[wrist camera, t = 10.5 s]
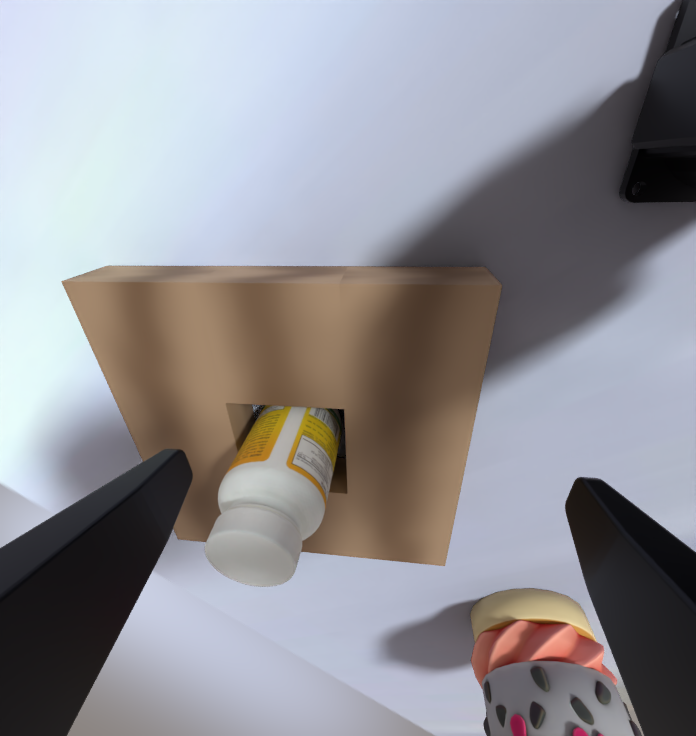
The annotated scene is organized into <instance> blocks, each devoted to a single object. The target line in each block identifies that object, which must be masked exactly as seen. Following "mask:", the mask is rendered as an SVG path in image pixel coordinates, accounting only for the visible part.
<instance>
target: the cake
mask: <svg viewBox="0 0 696 736" xmlns="http://www.w3.org/2000/svg"><path fill="white" fill-rule="evenodd" d="M470 617H471V623H472V628H473V634H474V640H475V645H474V649H473V653H472V658H471V663H472V666H473V670H474V673H475V676H476V678H477V680H478V682H479V684H480V686H481V688H482V689H483V694H484V700H485V706H486V716H487V717H486V718H485V720H484V730H485V733H486V735H487V736H642V735H641V732H640V730H639V729H638V727H637V726H636V724H635V723H634V722H633V721H632V719H631V717H630V714H629V712H628V709H627V706H626V704H625V703H624V702H622V699H621V697H620V695H619V692H618V690H617V688H616V686H615V685H616V684H617V679H616V678H615V676H614V675H613V674H612V673H611V672H610V671H609V670H608V669H607V668H606V667H605V666H604V665H603V664H602V659H603V655H604V648H603V646H602V645H601V644H599V643H597V641H596V638H595V636H594V634H593V631H592V629H591V627H590V624H589V622H588V620H587V617H586V615H585V613H584V611H583V609H582V608H581V606H580V605H579V603H577V602H576V601H574V600H572V599H571V598H569V597H568V596H565V595H562V594H559V593H556V592H553V591H549V590H541V589H534V588H527V589H510V590H505V591H500V592H496V593H493V594H491V595H489V596H486V597H484V598H482V599H481V600H480V601H478V602H477V603H476V604H475V605H474V606H473V608H472V610H471V613H470Z"/></svg>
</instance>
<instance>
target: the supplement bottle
mask: <svg viewBox="0 0 696 736" xmlns="http://www.w3.org/2000/svg"><path fill="white" fill-rule="evenodd" d="M341 433H342V420H341V417H340V414H339V412H338V410H337V409H332V408H312V407H293V406H273V405H265V406H264V408H263V409H262V411H261V413H260V414H259V416H258V418H257V420H256V422H255V424H254V425H253V427H252V429H251V431H250V432H249V434H248V436H247V438H246V440H245V441H244V443H243V445H242V446H241V448H240V450H239V452H238V454H237V455H236V457H235V459H234V461H233V462H232V464H231V466H230V467H229V469H228V471H227V473H226V475H225V476H224V478H223V480H222V482H221V484H220V487H219V491H218V504H219V508H220V511H221V515H220V516H219V517H218V518H217V519H216V522H215V524H214V527H213V529H212V531H211V533H210V535H209V537H208V539H207V541H206V544H205V554H206V557H207V559H208V560H209V562H210V563H211V565H212V566H213V567H214V568H215V569H216V570H217V571H219V572H220V573H221V574H223V575H224V576H226V577H228V578H230V579H232V580H235V581H237V582H240V583H243V584H246V585H251V586H259V587H270V586H276V585H280V584H283V583H285V582H287V581H288V580H289V579H290V578H291V577H292V576H293V575H294V573H295V570H296V567H297V563H298V559H299V556H300V552H301V550H302V541H303V540H305V539H307V538H308V537H310V536H311V535H312V534H313V533H314V532H315V531H316V530H317V529H318V527H319V526H320V524H321V522H322V519H323V516H324V513H325V508H326V503H327V499H328V494H329V489H330V484H331V480H332V475H333V471H334V466H335V462H336V457H337V452H338V447H339V442H340V438H341Z"/></svg>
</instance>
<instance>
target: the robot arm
mask: <svg viewBox="0 0 696 736" xmlns="http://www.w3.org/2000/svg"><path fill="white" fill-rule="evenodd" d="M632 144H633V147H634V148H633V151H632V154H631V157H630V160H629V163H628V166H627V169H626V172H625V175H624V178H623V181H622V184H621V187H620V192H619V195H620V198H621V199H622V200H623V201H627V202H633V203H644V202H696V0H683V1H682V4H681V7H680V10H679V13H678V16H677V19H676V22H675V25H674V28H673V31H672V34H671V37H670V40H669V43H668V46H667V49H666V52H665V54H664V55H663V56H662V57H661V58H660V59H659V60H658V62H657V65H656V68H655V71H654V74H653V77H652V80H651V84H650V87H649V90H648V93H647V96H646V99H645V102H644V105H643V108H642V111H641V114H640V117H639V120H638V123H637V126H636V129H635V132H634V135H633V138H632ZM638 182H639V183H640V189H639V191H638V192H637V193H636V194H634V195H633V194H632V188H633V187H634V185H635V184H637V183H638ZM192 479H193V472H192V469H191V466H190V464H189V461H188V459H187V456H186V454H185V452H184V451H183V450H181V449H172V448H167V449H164V450H162V451H160V452H159V453H157V454H155V455H154V456H152V457H150V458H149V459H147V460H145V461H144V462H142V463H140V464H139V465H137V466H136V467H134V468H132V469H131V470H129V471H127V472H126V473H124V474H122V475H121V476H119V477H117V478H116V479H114V480H112V481H111V482H109V483H107V484H106V485H104V486H102V487H101V488H99V489H97V490H96V491H94V492H92V493H91V494H89V495H87V496H86V497H84V498H83V499H81V500H79V501H78V502H76V503H74V504H73V505H71V506H69V507H68V508H66V509H64V510H63V511H61V512H59V513H58V514H56V515H54V516H53V517H51V518H50V519H48V520H46V521H45V522H43V523H41V524H40V525H38V526H36V527H34V528H33V529H31V530H29V531H28V532H26V533H25V534H23V535H22V536H20V537H18V538H16V539H15V540H13V541H11V542H10V543H8V544H6V545H5V546H3V547H1V548H0V736H67V734H68V732H69V730H70V728H71V727H72V725H73V723H74V721H75V719H76V717H77V715H78V713H79V711H80V709H81V707H82V705H83V704H84V702H85V700H86V698H87V696H88V694H89V692H90V690H91V688H92V686H93V684H94V682H95V680H96V679H97V677H98V675H99V673H100V671H101V669H102V667H103V665H104V663H105V661H106V659H107V657H108V655H109V653H110V651H111V650H112V648H113V646H114V644H115V642H116V640H117V638H118V636H119V634H120V632H121V630H122V628H123V627H124V624H125V623H126V621H127V619H128V617H129V615H130V613H131V611H132V609H133V607H134V605H135V603H136V601H137V600H138V598H139V596H140V594H141V592H142V590H143V588H144V586H145V584H146V582H147V580H148V578H149V576H150V574H151V573H152V571H153V569H154V567H155V565H156V563H157V561H158V559H159V557H160V555H161V553H162V551H163V549H164V547H165V545H166V543H167V541H168V539H169V537H170V534H171V532H172V530H173V527H174V525H175V522H176V520H177V517H178V515H179V512H180V510H181V507H182V505H183V503H184V500H185V498H186V495H187V493H188V490H189V488H190V485H191V483H192ZM565 510H566V515H567V519H568V522H569V526H570V530H571V533H572V537H573V540H574V544H575V548H576V551H577V555H578V559H579V562H580V566H581V569H582V573H583V576H584V580H585V583H586V586H587V589H588V592H589V595H590V598H591V600H592V603H593V605H594V608H595V611H596V613H597V616H598V618H599V621H600V623H601V626H602V629H603V631H604V634H605V636H606V639H607V641H608V644H609V646H610V649H611V652H612V654H613V657H614V659H615V662H616V664H617V667H618V670H619V672H620V675H621V677H622V680H623V682H624V685H625V687H626V690H627V693H628V695H629V698H630V700H631V703H632V705H633V708H634V711H635V713H636V716H637V718H638V721H639V723H640V726H641V728H642V731H643V734H644V736H696V552H695V551H693V550H692V549H691V548H690V547H688V546H687V545H686V544H684V543H683V542H682V541H681V540H679V539H678V538H677V537H675V536H674V535H673V534H672V533H670V532H669V531H668V530H666V529H665V528H664V527H662V526H661V525H660V524H659V523H657V522H656V521H655V520H653V519H652V518H651V517H650V516H648V515H647V514H646V513H644V512H643V511H642V510H640V509H639V508H638V507H637V506H635V505H634V504H633V503H631V502H630V501H629V500H628V499H626V498H625V497H624V496H622V495H621V494H620V493H619V492H617V491H616V490H615V489H613V488H612V487H611V486H609V485H608V484H607V483H606V482H604V481H603V480H601V479H598V478H588V477H578V478H577V479H576V480H575V482H574V484H573V486H572V488H571V491H570V493H569V495H568V498H567V500H566V504H565Z"/></svg>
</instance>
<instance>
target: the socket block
mask: <svg viewBox="0 0 696 736" xmlns="http://www.w3.org/2000/svg"><path fill="white" fill-rule="evenodd" d="M61 282H62V284H63V286H64V288H65V290H66V293H67V295H68V297H69V299H70V301H71V304H72V306H73V308H74V310H75V312H76V315H77V317H78V319H79V321H80V324H81V326H82V328H83V330H84V332H85V335H86V337H87V339H88V341H89V343H90V346H91V348H92V350H93V352H94V354H95V357H96V359H97V361H98V363H99V365H100V368H101V370H102V372H103V374H104V376H105V379H106V381H107V383H108V385H109V388H110V390H111V392H112V394H113V396H114V399H115V401H116V403H117V405H118V407H119V410H120V412H121V414H122V416H123V418H124V421H125V423H126V425H127V427H128V429H129V432H130V434H131V436H132V438H133V440H134V443H135V445H136V447H137V449H138V452H139V454H140V456H141V458H142V460H143V462H144V461H145V460H147V459H149V458H150V457H152V456H154V455H155V454H157V453H159V452H160V451H162V450H164V449H167V448H172V449H181V450H183V451H184V452H185V454H186V456H187V459H188V461H189V464H190V466H191V469H192V472H193V479H192V483H191V485H190V488H189V490H188V493H187V495H186V498H185V500H184V503H183V505H182V507H181V510H180V512H179V515H178V517H177V520H176V522H175V525H174V527H173V529H174V531H175V533H176V535H177V538H178V539H181V540H191V541H201V542H206V541H207V539H208V537H209V535H210V533H211V531H212V529H213V527H214V524H215V522H216V519H217V518H218V517H219V516H220V515H221V511H220V508H219V504H218V491H219V487H220V484H221V482H222V480H223V478H224V476H225V475H226V473H227V471H228V469H229V467H230V466H231V464H232V462H233V461H234V459H235V457H236V455H237V454H238V452H239V450H240V448H241V446H242V445H243V443H244V441H245V440H246V438H247V436H248V434H249V432H250V431H251V429H252V427H253V425H254V424H255V417H254V412H253V407H252V404H253V405H273V406H293V407H312V408H332V409H344V416H345V441H346V458H336V462H335V466H334V471H333V475H332V480H331V484H330V489H329V494H328V499H327V503H326V508H325V513H324V516H323V519H322V522H321V524H320V526H319V527H318V529H317V530H316V531H315V532H314V533H313V534H312V535H311V536H310V537H308V538H307V539H305V540H303V541H302V550H301V552H310V553H320V554H330V555H340V556H350V557H360V558H370V559H380V560H390V561H400V562H409V563H419V564H429V565H439V566H445V563H446V558H447V553H448V548H449V543H450V538H451V534H452V529H453V524H454V519H455V514H456V509H457V504H458V499H459V495H460V490H461V485H462V480H463V475H464V470H465V465H466V460H467V455H468V451H469V446H470V441H471V436H472V431H473V426H474V421H475V416H476V411H477V407H478V402H479V397H480V392H481V387H482V382H483V377H484V372H485V368H486V363H487V358H488V353H489V348H490V343H491V338H492V333H493V328H494V324H495V319H496V314H497V309H498V304H499V299H500V294H501V289H502V284H501V283H500V282H499V281H498V280H497V279H496V278H495V277H494V276H493V274H492V273H491V272H490V271H489V270H488V269H487V268H486V267H362V266H105V267H102V268H99V269H96V270H93V271H91V272H88V273H85V274H82V275H79V276H76V277H73V278H70V279H67V280H64V281H61Z"/></svg>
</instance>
